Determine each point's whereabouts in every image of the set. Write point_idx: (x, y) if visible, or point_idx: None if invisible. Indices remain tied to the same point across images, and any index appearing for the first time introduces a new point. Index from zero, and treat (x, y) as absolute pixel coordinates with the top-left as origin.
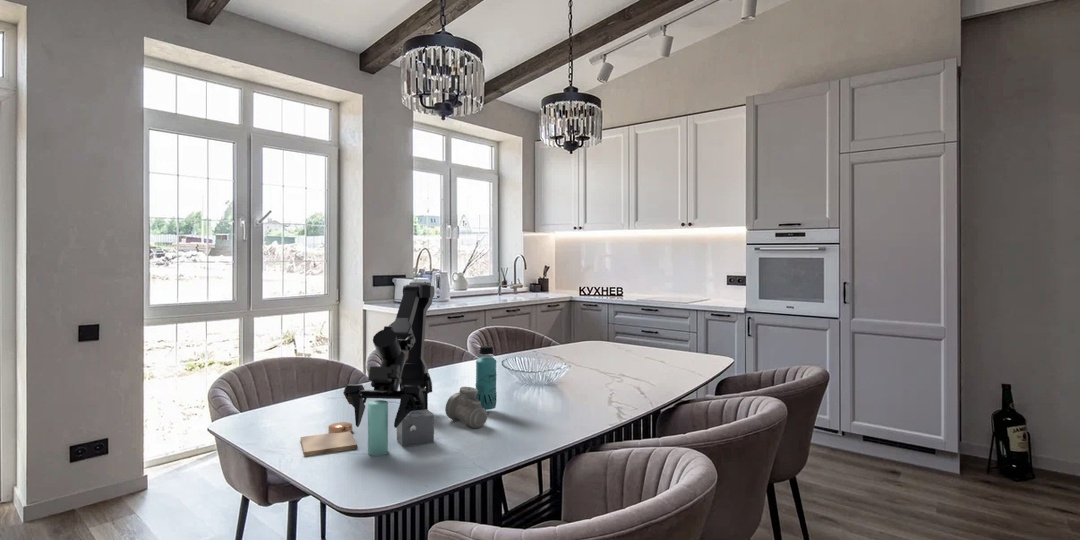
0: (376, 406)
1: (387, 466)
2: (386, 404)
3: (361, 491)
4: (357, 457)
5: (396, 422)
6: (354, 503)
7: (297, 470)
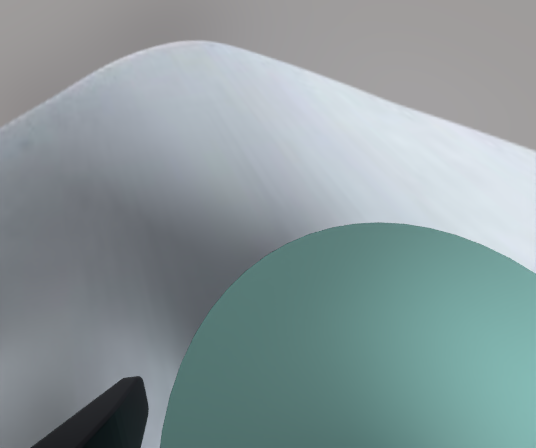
0: (318, 237)
1: (191, 256)
2: (173, 408)
3: (208, 92)
4: None
5: (105, 393)
6: (200, 51)
7: (515, 167)
